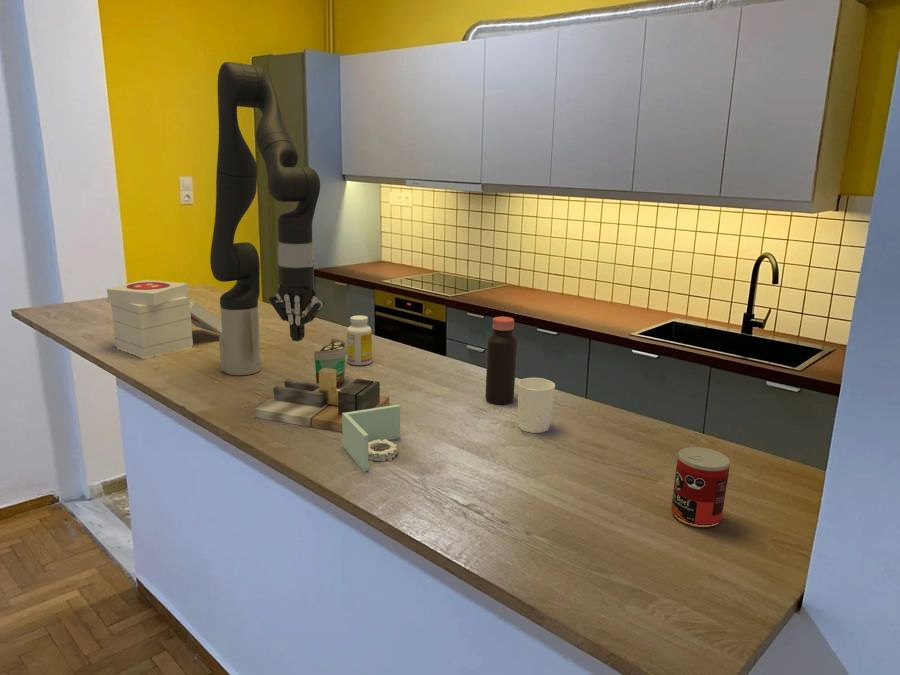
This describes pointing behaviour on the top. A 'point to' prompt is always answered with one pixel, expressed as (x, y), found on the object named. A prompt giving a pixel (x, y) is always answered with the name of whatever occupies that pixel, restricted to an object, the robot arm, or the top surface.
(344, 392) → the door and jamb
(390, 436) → the l-shaped corner panel
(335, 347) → the food container
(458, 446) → the top surface
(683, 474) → the canned food
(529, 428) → the white cup
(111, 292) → the pizza boxes
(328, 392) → the wooden t-shaped block
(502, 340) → the vinegar
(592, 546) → the top surface
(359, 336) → the supplement bottle
